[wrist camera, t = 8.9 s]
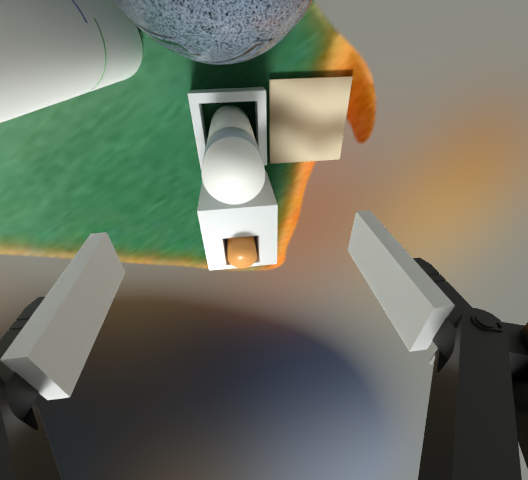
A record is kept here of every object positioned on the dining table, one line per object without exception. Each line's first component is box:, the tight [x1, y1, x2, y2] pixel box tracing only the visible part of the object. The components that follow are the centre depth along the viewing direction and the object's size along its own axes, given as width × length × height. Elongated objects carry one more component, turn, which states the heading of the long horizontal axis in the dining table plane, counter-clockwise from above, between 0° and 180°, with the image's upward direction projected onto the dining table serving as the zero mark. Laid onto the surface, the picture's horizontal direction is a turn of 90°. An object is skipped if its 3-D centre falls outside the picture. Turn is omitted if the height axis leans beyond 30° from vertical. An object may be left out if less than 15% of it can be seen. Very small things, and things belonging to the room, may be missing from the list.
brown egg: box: [227, 236, 257, 268], centre depth 34 cm, size 4×4×6 cm
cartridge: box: [202, 105, 265, 204], centre depth 27 cm, size 5×5×16 cm
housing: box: [188, 87, 278, 270], centre depth 33 cm, size 20×9×10 cm, turn 1°
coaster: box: [269, 76, 353, 164], centre depth 34 cm, size 10×10×1 cm
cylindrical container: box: [0, 0, 143, 123], centre depth 17 cm, size 7×7×25 cm
